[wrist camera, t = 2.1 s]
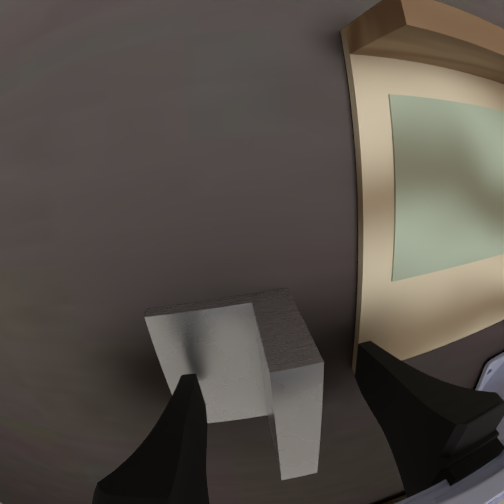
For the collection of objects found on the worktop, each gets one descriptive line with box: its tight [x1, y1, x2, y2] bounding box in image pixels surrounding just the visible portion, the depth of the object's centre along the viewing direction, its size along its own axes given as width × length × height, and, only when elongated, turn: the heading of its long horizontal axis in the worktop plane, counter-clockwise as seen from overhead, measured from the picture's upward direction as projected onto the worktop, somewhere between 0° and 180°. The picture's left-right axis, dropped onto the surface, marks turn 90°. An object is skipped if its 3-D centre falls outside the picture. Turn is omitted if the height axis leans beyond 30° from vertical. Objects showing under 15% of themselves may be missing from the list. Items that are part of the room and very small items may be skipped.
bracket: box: [145, 288, 324, 480], centre depth 12 cm, size 7×6×5 cm
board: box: [340, 28, 504, 374], centre depth 13 cm, size 16×14×1 cm
